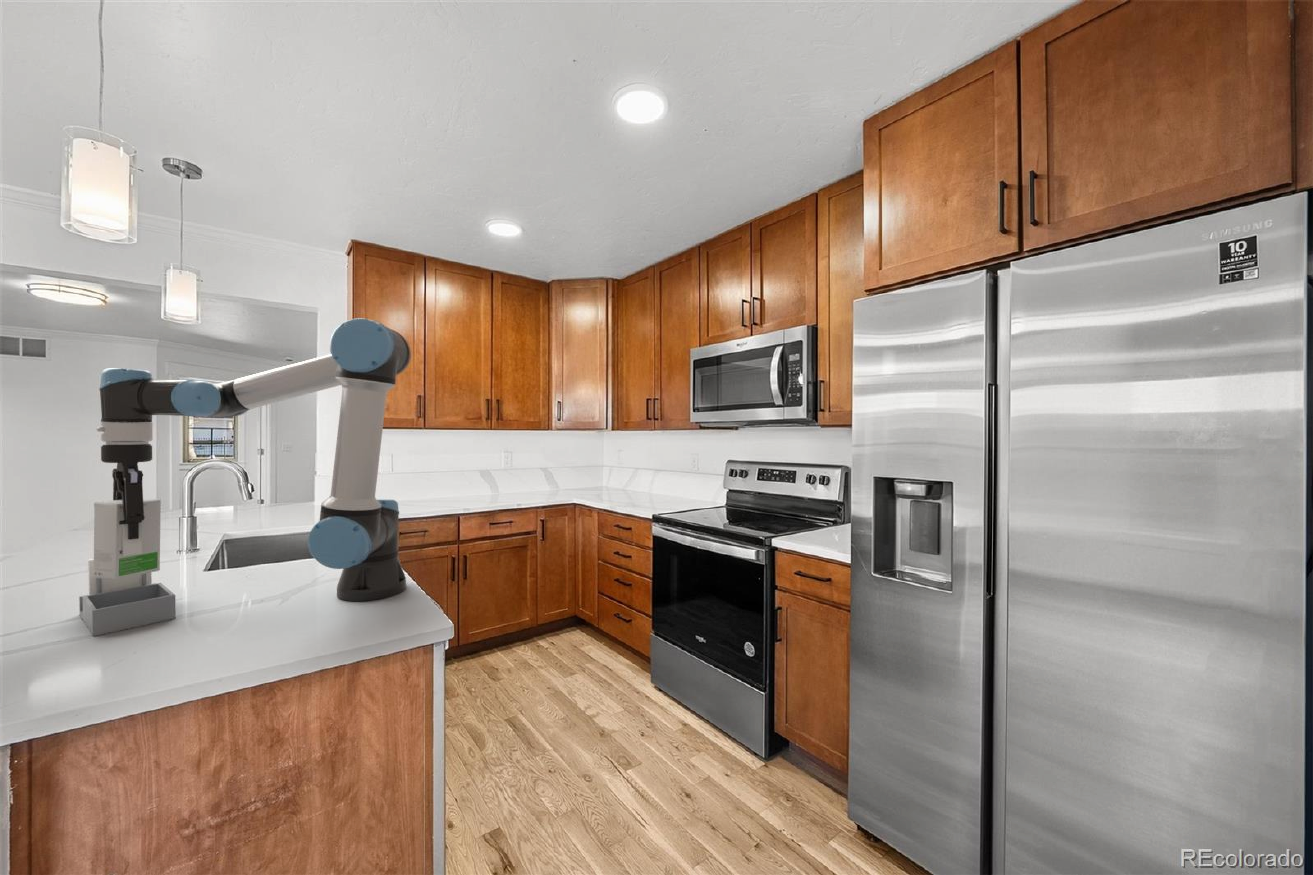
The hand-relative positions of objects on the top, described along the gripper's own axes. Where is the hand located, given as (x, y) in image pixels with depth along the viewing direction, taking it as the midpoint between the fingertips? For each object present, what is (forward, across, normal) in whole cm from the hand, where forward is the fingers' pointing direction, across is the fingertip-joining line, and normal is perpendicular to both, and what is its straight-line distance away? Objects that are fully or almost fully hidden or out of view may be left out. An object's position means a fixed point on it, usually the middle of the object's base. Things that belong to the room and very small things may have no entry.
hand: (128, 550), depth 109 cm
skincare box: (+5, 0, 0) cm, 5 cm away
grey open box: (+14, -2, 0) cm, 15 cm away
